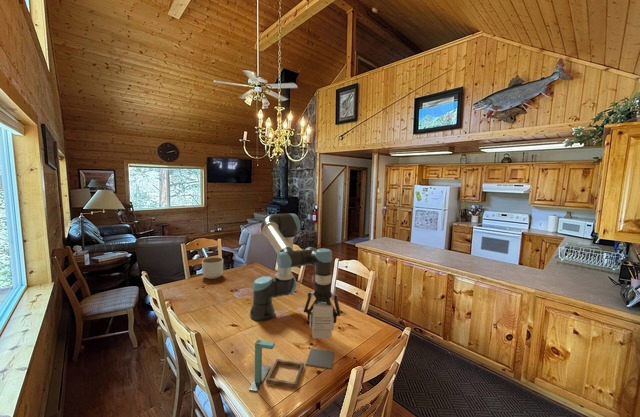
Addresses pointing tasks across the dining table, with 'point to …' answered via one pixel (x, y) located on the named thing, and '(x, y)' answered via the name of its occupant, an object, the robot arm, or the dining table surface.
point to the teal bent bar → (260, 357)
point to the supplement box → (322, 320)
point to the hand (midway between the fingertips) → (321, 327)
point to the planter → (212, 267)
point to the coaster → (320, 358)
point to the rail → (256, 386)
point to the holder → (282, 382)
